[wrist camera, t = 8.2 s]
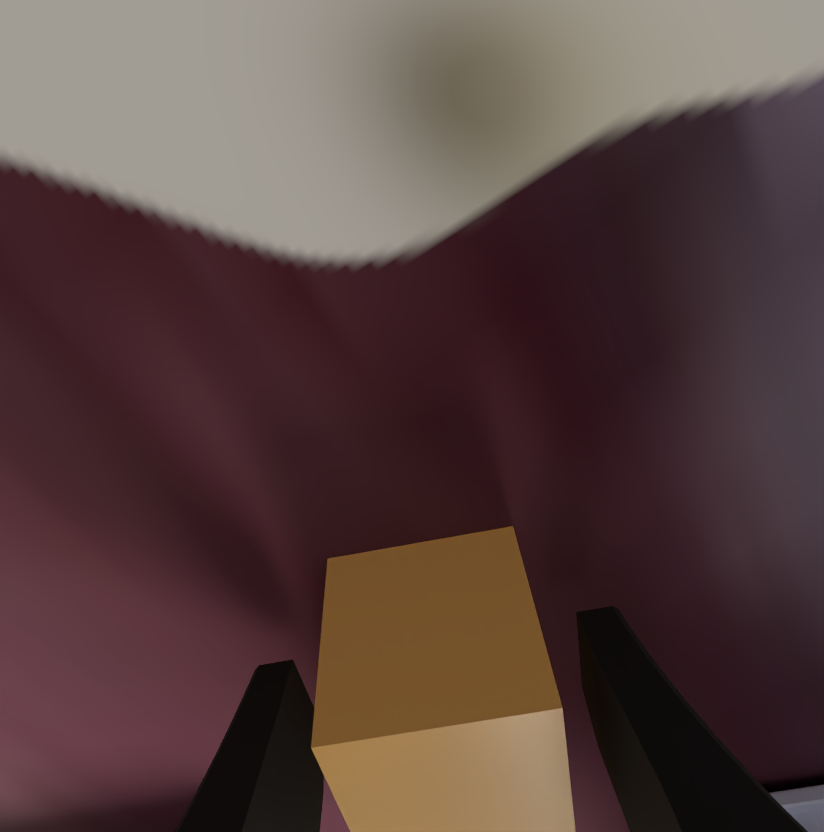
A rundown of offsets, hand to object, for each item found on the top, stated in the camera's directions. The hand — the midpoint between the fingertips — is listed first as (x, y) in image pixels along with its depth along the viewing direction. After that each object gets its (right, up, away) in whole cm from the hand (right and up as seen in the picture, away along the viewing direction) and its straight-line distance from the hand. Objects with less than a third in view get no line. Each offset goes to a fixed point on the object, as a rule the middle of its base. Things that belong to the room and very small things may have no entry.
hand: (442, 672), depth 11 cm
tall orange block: (0, -1, +2) cm, 2 cm away
